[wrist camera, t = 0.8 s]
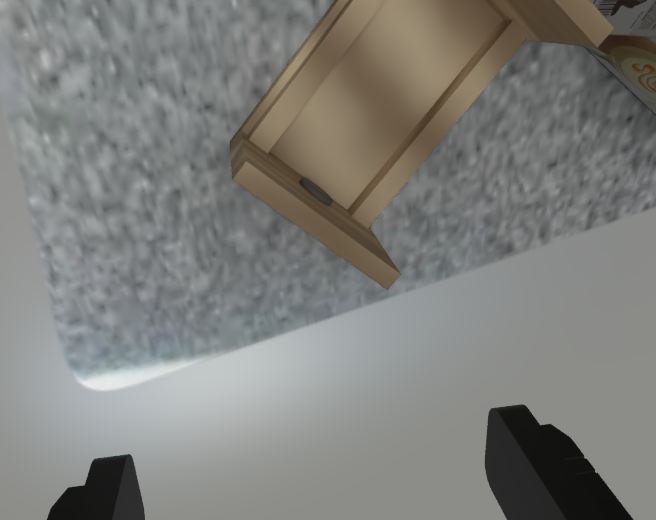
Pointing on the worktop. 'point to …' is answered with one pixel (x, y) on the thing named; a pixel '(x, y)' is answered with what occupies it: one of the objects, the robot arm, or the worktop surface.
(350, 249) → the holder
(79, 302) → the worktop surface
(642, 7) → the coffee box
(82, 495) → the robot arm
